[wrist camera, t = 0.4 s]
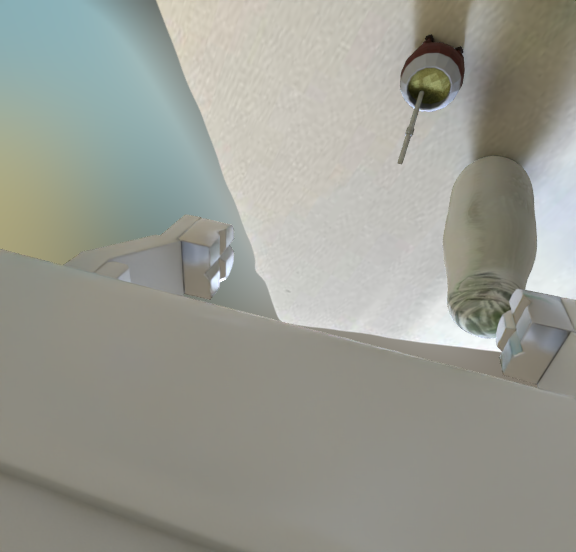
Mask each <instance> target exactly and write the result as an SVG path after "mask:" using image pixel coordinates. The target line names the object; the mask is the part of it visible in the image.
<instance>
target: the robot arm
mask: <svg viewBox="0 0 576 552" xmlns="http://www.w3.org/2000/svg"><path fill="white" fill-rule="evenodd" d="M233 240H234V228H233V226H232V225H230V224H225V223H221V222H217V221H213V220H209V219H204V218H201V217H197V216H192V215H184V216H183V217H182V218H180V219H179V220H178V221H177V222H176V223H175V224H173V225H172V226H171V227H170V228H169V229H167V231H165V232H164V233H163V234H161V235H160V236H158V235H152V236H148V237H144V238H140V239H135V240H131V241H127V242H122V243H118V244H113V245H109V246H105V247H101V248H96V249H92V250H87V251H84V252H81V253H79V254H78V255H76V256H75V257H73V258H72V259H71V260H69V261H68V262H66V263H65V264H63V265H61V264H57V263H53V262H49V261H45V260H41V259H38V258H34V257H30V256H26V255H22V254H18V253H15V252H11V251H7V250H3V249H0V552H576V300H573V299H568V298H562V297H558V296H553V295H548V294H543V293H538V292H533V291H528V290H523V289H516V291H515V292H514V293H513V295H512V296H511V298H510V300H509V303H510V307H511V310H509V311H507V312H506V313H504V314H503V315H502V317H501V319H500V321H499V323H498V327H497V332H496V343H497V347H498V348H499V349H500V350H501V351H502V354H501V356H500V357H499V358H500V363H501V368H502V372H503V375H504V376H508V377H512V378H515V379H519V380H522V381H526V382H530V383H533V384H537V387H538V388H536V387H532V386H528V385H525V384H520V383H517V382H513V381H509V380H505V379H501V378H498V377H494V376H490V375H486V374H482V373H478V372H474V371H470V370H467V369H463V368H459V367H455V366H451V365H447V364H443V363H439V362H435V361H432V360H428V359H424V358H420V357H416V356H412V355H409V354H405V353H401V352H397V351H393V350H389V349H385V348H381V347H378V346H374V345H369V344H366V343H362V342H358V341H354V340H351V339H347V338H343V337H339V336H335V335H331V334H327V333H324V332H320V331H315V330H312V329H308V328H304V327H300V326H297V325H293V324H289V323H285V322H281V321H277V320H273V319H269V318H266V317H262V316H258V315H254V314H250V313H246V312H242V311H238V310H235V309H231V308H227V307H223V306H219V305H215V304H211V303H208V302H203V301H200V300H196V299H192V298H188V297H185V296H183V295H184V294H187V295H192V296H197V297H200V298H205V299H209V300H210V299H211V298H212V297H213V295H214V294H215V293H216V292H217V290H218V289H219V287H220V281H223V280H225V279H226V278H227V277H228V275H229V274H230V271H231V268H232V266H233V260H234V251H233V249H232V247H231V246H230V243H231V242H232V241H233Z"/></svg>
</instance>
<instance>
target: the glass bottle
mask: <svg viewBox="0 0 576 552" xmlns="http://www.w3.org/2000/svg"><path fill="white" fill-rule="evenodd" d="M536 251H537V234H536V221H535V211H534V195H533V188H532V184H531V181H530V179H529V177H528V175H527V173H526V171H525V170H524V169H523V168H522V167H521V166H520V165H519V164H518V163H516V162H515V161H513V160H511V159H508V158H505V157H501V156H487V157H484V158H481V159H478V160H477V161H475V162H473V163H472V164H470V165H468V166H467V167H466V168H465V169H464V170H463V171H462V172H461V174H460V175H459V177H458V178H457V180H456V181H455V183H454V186H453V188H452V192H451V197H450V203H449V210H448V215H447V219H446V224H445V230H444V235H443V257H444V264H445V270H446V275H447V284H448V292H447V305H448V310H449V313H450V315H451V317H452V319H453V321H454V322H455V323H456V324H457V325H458V326H459V327H460V328H461V329H463V330H464V331H466V332H468V333H470V334H472V335H475V336H478V337H481V338H496V332H497V327H498V323H499V321H500V319H501V317H502V315H503V314H504V313H506V312H507V311H509V310H511V307H510V303H509V300H510V298H511V296H512V295H513V293H514V292H515V291H516V289H523V290H525V287H526V283H527V279H528V277H529V275H530V272H531V270H532V267H533V264H534V261H535V257H536Z"/></svg>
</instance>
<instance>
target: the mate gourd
mask: <svg viewBox="0 0 576 552" xmlns="http://www.w3.org/2000/svg"><path fill="white" fill-rule="evenodd" d="M425 40H426V41H424V43H423V44H422V45H421V46H420V47H419V48H418V49H417V50H416V51H415V52H414V53H413V54H412V55H411V56H410V57H409V58H408V59H407V61H406V63H405V65H404V67H403V69H402V72H401V80H400V90H401V92H402V95H403V98H404V100H405V101H406V102H407V103H408V104H409V105H410V106H411V107H412V108H414V111H413V115H412V118H411V121H410V124H409V127H408V128H407V130H406V133H405V135H406V137H405V140H404V143H403V147H402V150H401V153H400V156H399V159H398V164H402V163H403V160H404V157H405V154H406V150H407V147H408V144H409V141H410V138H411V137H412V135H413V132H414V125H415V122H416V118H417V115H418V112H419V110H420V111H436V110H438V109H441V108H444V107H445V106H446V105H448V104H449V103H450V102H451V101H452V100H454V98H455V96H456V94H457V93H458V91H459V90H460V88H461V86H462V84H463V78H464V71H465V70H464V57H463V55H462V53H463V49H462V47H461V46H460V47H457V48H455V49H454V48H453V47H452V46H449V45H447V44H444V43H442V42H434V39H433V36H432V35H428V36H426V38H425Z"/></svg>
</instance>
